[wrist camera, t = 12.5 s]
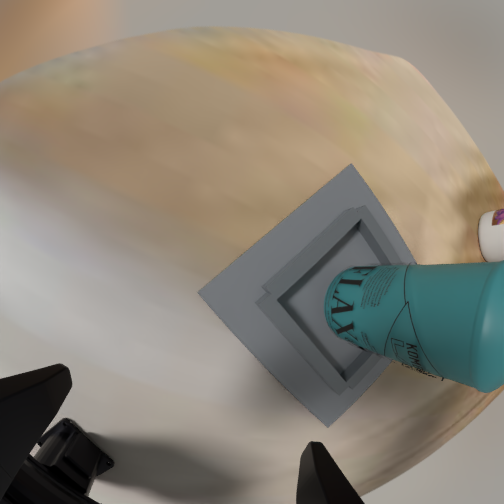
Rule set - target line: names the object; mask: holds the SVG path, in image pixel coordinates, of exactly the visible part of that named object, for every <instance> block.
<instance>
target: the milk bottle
mask: <svg viewBox="0 0 504 504" xmlns="http://www.w3.org/2000/svg"><path fill="white" fill-rule="evenodd" d="M478 238H479V245H480V249H481V252H482V255H483V257H484V259H485V260H486V261H487V262H500V261H502V260H504V209H500V210H496V211H491V212H487V213H484V214H483V215H482V216H481V218H480V221H479V226H478Z"/></svg>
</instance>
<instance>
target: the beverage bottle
mask: <svg viewBox="0 0 504 504" xmlns="http://www.w3.org/2000/svg"><path fill="white" fill-rule="evenodd" d="M401 263H402V264H403V262H401ZM401 263H399V264H401ZM411 263H412V262H411ZM414 263H415V262H414ZM379 264H380V263H379ZM383 264H384V263H382V264H381V265H382V266H381V265H380V266H379V265H378V263H377V265H378V266H377V265H376V264H374V265H376V266H372V265H373V264H372V265H371V266H355V267H350V266H349V267H350V268H348V267H347V268H348V269H346V268H345V269H346V270H344V271H343V270H342V271H341V273H339V274H338V275H337V276H336V277H335V278H334V279H333V280H332V282H331V283H330V285H329V287H328V289H327V291H326V294H325V299H324V314H325V318H326V321H327V323H328V326H329V328H331V329H330V330H332V331H333V332H334V333H335V334H336V335H337V337H340V338H341V339H343V340H346V341H347V342H351V343H353V345H354V344H355V346H356V345H358V346H357V348H358V347H359V349H362V350H364V351H366V350H365V349H368V350H370V351H373V352H375V354H376V353H377V355H379V354H380V355H383V356H385V357H386V358H387V357H388V358H391V359H393V360H396V361H399V362H401V363H402V365H403V363H404V364H405V365H409V366H411V367H415V368H414V369H416V368H417V369H416V370H418V369H420V370H418V371H419V372H420V371H421V370H423V373H422V371H421V372H420V373H422V374H426V373H424V372H425V371H426V372H428V374H429V373H431V374H434V375H437V376H439V377H442V380H441V381H443V379H444V378H446V379H450V380H453V381H456V382H459V383H462V384H465V385H468V386H471V387H474V388H476V389H477V390H478V391H481V392H484V393H488V392H492V391H494V390H496V389H497V388H499V387H500V386H502V385H503V384H504V260H502V261H500V262H482V263H461V264H437V265H417V264H416V263H415V264H416V265H410V263H409V265H406V263H405V265H397V264H398V263H397V264H395V263H394V264H395V265H392V264H391V265H390V264H388V263H387V264H388V265H386V264H385V265H384V266H383ZM407 264H408V262H407ZM368 265H369V264H368ZM333 332H332V333H333ZM339 340H340V339H339ZM351 343H349V344H351ZM353 345H352V346H353ZM362 347H363V348H362ZM364 348H365V349H364ZM370 351H369V352H370ZM367 352H368V351H367ZM373 352H372V353H373ZM370 353H371V352H370ZM373 354H374V353H373ZM381 358H383V357H382V356H381ZM389 360H390V359H389ZM403 366H404V365H403ZM404 367H405V366H404ZM406 367H408V366H406ZM408 368H409V367H408ZM412 370H413V369H412ZM418 371H417V372H418ZM426 375H427V374H426ZM428 376H432V375H428ZM432 377H434V376H432ZM435 378H436V377H435Z"/></svg>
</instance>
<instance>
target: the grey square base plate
mask: <svg viewBox="0 0 504 504" xmlns="http://www.w3.org/2000/svg"><path fill="white" fill-rule="evenodd" d="M401 262H403V264H402V263H401ZM407 262H408V264H407ZM411 262H412V263H411ZM414 262H415V263H416V261H415V259H414V258H413V256H412V254H411V252H410V251H409V249H408V247H407V245H406V244H405V242H404V240H403V239H402V237H401V235H400V234H399V232H398V230H397V229H396V227H395V226H394V224H393V222H392V221H391V219H390V218H389V216H388V215H387V213H386V211H385V210H384V208H383V207H382V205H381V204H380V202H379V201H378V199H377V198H376V197H375V195H374V194H373V192H372V191H371V189H370V188H369V187H368V185H367V184H366V182H365V181H364V180H363V178H362V177H361V175H360V174H359V173H358V171H357V170H356V169H355V167H354V166H353V165H352V163H351V164H350V165H348V166H347V167H346V168H345V169H343V170H342V171H341V172H340V173H339V174H337V175H336V176H335V177H334V178H333V179H331V180H330V181H329V182H328V183H327V184H325V185H324V186H323V187H322V188H321V189H319V190H318V191H317V192H316V193H315V194H313V195H312V196H311V197H310V198H309V199H307V200H306V201H305V202H304V203H303V204H301V205H300V206H299V207H298V208H297V209H296V210H294V211H293V212H292V213H291V214H290V215H288V216H287V217H286V218H285V219H284V220H282V221H281V222H280V223H279V224H278V225H276V226H275V227H274V228H273V229H272V230H270V231H269V232H268V233H267V234H266V235H265V236H263V237H262V238H261V239H260V240H259V241H257V242H256V243H255V244H254V245H253V246H251V247H250V248H249V249H248V250H247V251H246V252H244V253H243V254H242V255H241V256H240V257H238V258H237V259H236V260H235V261H234V262H233V263H231V264H230V265H229V266H228V267H227V268H225V269H224V270H223V271H222V272H221V273H220V274H218V275H217V276H216V277H215V278H214V279H212V280H211V281H210V282H209V283H208V284H207V285H205V286H204V287H203V288H202V289H201V290H199V291H198V292H197V293H198V294H199V295H200V296H201V297H202V299H203V300H204V301H205V302H206V303H207V304H208V305H209V307H210V308H211V309H212V310H213V311H214V312H215V313H216V315H217V316H218V317H219V318H220V319H221V320H222V321H223V322H224V324H225V325H226V326H227V327H228V328H229V329H230V330H231V331H232V332H233V334H234V335H235V336H236V337H237V338H238V339H239V340H240V341H241V342H242V343H243V344H244V345H245V347H246V348H247V349H248V350H249V351H250V352H251V353H252V354H253V355H254V356H255V357H256V358H257V359H258V360H259V361H260V362H261V363H262V364H263V365H264V367H265V368H266V369H267V370H268V371H269V372H270V373H271V374H272V375H273V376H274V377H275V378H276V379H277V380H278V381H279V382H280V383H281V384H282V385H283V386H284V387H285V388H286V389H287V390H288V391H289V392H290V393H291V394H292V395H293V396H295V397H296V398H297V399H298V400H299V401H300V402H301V403H302V404H303V405H304V406H305V407H306V408H307V409H308V410H309V411H310V412H311V413H312V414H313V415H315V416H316V417H317V418H318V419H319V420H320V421H321V422H322V423H323V424H324V425H325V426H327V427H329V426H330V425H331V424H332V423H334V422H335V421H336V420H337V419H338V418H339V417H340V416H341V415H342V414H343V413H344V412H345V411H346V410H347V409H348V408H349V407H350V406H351V405H352V404H353V403H354V402H355V401H356V400H357V399H358V398H359V397H360V396H361V395H362V394H363V393H364V392H365V391H366V390H367V389H368V388H369V387H370V386H371V385H372V383H373V382H374V381H375V380H376V379H377V378H378V377H379V376H380V375H381V373H382V372H383V371H384V370H385V369H386V368H387V366H388V365H389V364H390V363H391V362H392V360H393V359H391V358H388V357H387V358H386V357H385V356H383V355H380V354H379V355H377V353H376V354H375V352H373V351H370V350H368V349H365V348H364V349H365V350H366V351H364V350H362V349H359V347H358V348H357V346H358V345H356V346H355V344H354V345H353V343H351V342H347V341H346V340H343V339H341V338H340V337H337V335H336V334H335V333H334V332H333V331H332V330H330V329H331V328H329V326H328V323H327V321H326V318H325V314H324V299H325V294H326V291H327V289H328V287H329V285H330V283H331V282H332V280H333V279H334V278H335V277H336V276H337V275H338V274H339V273H341V271H342V270H343V271H344V270H346V269H348V268H350V267H355V266H371V265H372V264H373V265H372V266H376V265H377V263H378V265H379V266H380V265H381V264H382V263H384V264H383V266H384V265H385V264H386V265H388V264H390V265H391V264H392V265H395V264H397V263H398V264H397V265H405V263H406V265H409V263H410V265H416V264H417V263H416V264H415V263H414ZM379 263H380V264H379ZM387 263H388V264H387ZM394 263H395V264H394ZM399 263H401V264H399ZM368 264H369V265H368ZM374 264H376V265H374ZM378 265H377V266H378ZM349 266H350V267H349ZM381 266H382V265H381ZM347 267H348V268H347ZM345 268H346V269H345ZM332 332H333V333H332ZM339 339H340V340H339ZM349 343H351V344H349ZM352 345H353V346H352ZM362 348H363V347H362ZM367 351H368V352H367ZM369 351H370V352H371V353H370V352H369ZM372 352H373V353H374V354H373V353H372ZM381 356H382V357H383V358H381ZM389 359H390V360H389Z"/></svg>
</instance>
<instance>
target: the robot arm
mask: <svg viewBox="0 0 504 504" xmlns="http://www.w3.org/2000/svg"><path fill="white" fill-rule="evenodd" d="M71 388H72V379H71V375H70V370H69V368H68V367H66V366H65V365H63V364H55V365H52V366H48V367H44V368H41V369H37V370H33V371H30V372H26V373H22V374H18V375H14V376H10V377H6V378H2V379H0V504H100V503H98V502H96V501H94V500H93V499H91V498H89V497H88V496H89V493H90V490H91V487H92V485H93V482H94V479H95V477H96V476H98V475H100V474H102V473H103V472H105V471H107V470H109V469H110V468H112V467H113V466H114V461H113V460H112V459H110V458H109V457H108V456H107V455H106V454H104V453H103V452H102V451H101V450H100V449H99V448H97V447H96V446H95V445H94V444H93V443H92V442H91V441H90V440H88V439H87V438H86V437H85V436H84V435H83V434H82V433H81V432H80V431H79V430H78V429H77V428H76V427H75V426H74V425H73V424H72V423H71V422H70V421H69V420H68V419H66V418H63V419H62V420H60V421H59V422H58V423H57V424H56V425H54V426H53V427H52V428H51V429H50V430H48V431H47V432H46V433H45V434H43V433H44V431H45V430H46V429H47V427H48V426H49V424H50V423H51V422H52V420H53V419H54V417H55V416H56V414H57V413H58V411H59V409H60V407H61V405H62V404H63V402H64V400H65V398H66V396H67V395H68V393H69V391H70V390H71ZM64 422H65V423H66V424H67V425H66V424H65V423H64ZM42 434H43V435H42ZM36 443H37V444H38V445H39V446H40V447H41V448H40V449H39V450H38V452H37V453H36V454H35V456H34V457H33V456H31V455H30V454H29V453H30V452H31V450H32V449H33V447H34V446H35V445H36ZM108 462H109V463H108ZM110 463H111V464H110ZM296 504H364V502H363V501H362V499H361V498H360V497H359V495H358V494H357V492H356V491H355V490H354V488H353V487H352V485H351V484H350V483H349V481H348V480H347V478H346V477H345V476H344V474H343V473H342V471H341V470H340V468H339V467H338V466H337V464H336V463H335V461H334V460H333V458H332V457H331V455H330V454H329V452H328V451H327V449H326V448H325V446H324V445H323V444H322V443H321V442H313V441H311V442H309V443H308V445H307V446H306V448H305V450H304V451H303V453H302V455H301V459H300V468H299V476H298V484H297V493H296Z"/></svg>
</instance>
